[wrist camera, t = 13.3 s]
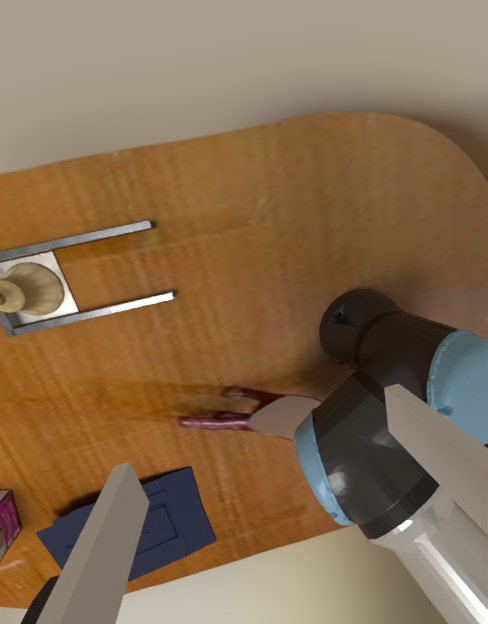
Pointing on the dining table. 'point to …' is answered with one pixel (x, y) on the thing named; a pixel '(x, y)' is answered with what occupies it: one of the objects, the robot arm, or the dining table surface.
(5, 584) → the dining table surface
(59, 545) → the navy serving tray
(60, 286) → the hand bell
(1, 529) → the candy bar box
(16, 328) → the guide channel
